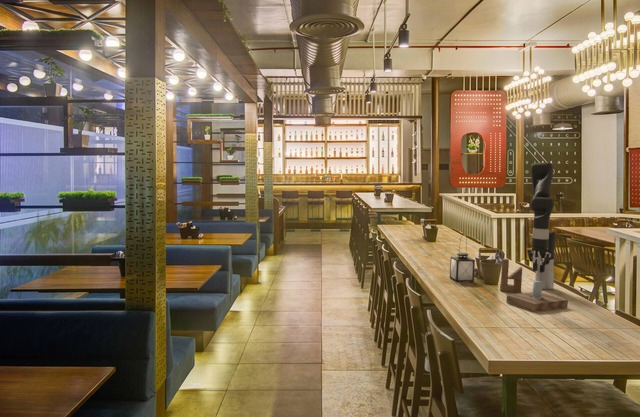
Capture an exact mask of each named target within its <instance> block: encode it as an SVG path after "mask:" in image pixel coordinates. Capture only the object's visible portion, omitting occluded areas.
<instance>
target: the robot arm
mask: <svg viewBox="0 0 640 417" xmlns="http://www.w3.org/2000/svg"><path fill="white" fill-rule="evenodd" d="M553 166H554V165H553V164H552V163H551V162H534V163H531V166H530V178H531V184H532V185H531V186H532V199H531V200H530V205H529V206H530V209H531V210H532V211H533V216H534V217H533V222H532V224H533V226H532V235H531V246H532V248H531V249H527V255H528V260H529V262H531V263H532V271H533V272H535V279H534V281H541V282H542V290H552V289H554V288H555V286H554V285H555V272H554V266H555V265H554V261H555V250H556V242H557V235H556V232H555V231H554V230H549V227H550V219H551V215H552V212H553V209H554V207H555V200H553V198H552V197H550V196H551V186H552V182H553V178H554V167H553Z"/></svg>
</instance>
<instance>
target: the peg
mask: <svg viewBox="0 0 640 417" xmlns="http://www.w3.org/2000/svg"><path fill="white" fill-rule="evenodd" d="M542 290H543V289H542V282H541V281H535V280H533V283H532V292H533V296H532V298H535V299H541V293H542Z"/></svg>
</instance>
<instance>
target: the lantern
mask: <svg viewBox="0 0 640 417" xmlns="http://www.w3.org/2000/svg"><path fill="white" fill-rule="evenodd" d="M464 235H465V238H466V240H465V241H466V244H465V245H466V246H465V248H466V249H465V251H467V248H468V247H467V245H468V244H467V243H468V242H467V241H468V239H467V238H468V237H467V235H466V234H462V235H461V237H460V239H459V242H461V240H462V237H463V236H464ZM460 250H461V245H459V248H458V251H459V252H457V253H456V255H457V256H450V263H449V264H450V266H449V278H450V279H451V280H453V281H454V282H456V283H459V282H461V283H462V282H464V283H465V282H466V281H474V282H475V268H476V267H475V264H476V262H475V261H476V259H473V258H472V257H469V253H467V252H460Z"/></svg>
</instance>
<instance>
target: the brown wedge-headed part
mask: <svg viewBox="0 0 640 417" xmlns="http://www.w3.org/2000/svg"><path fill="white" fill-rule="evenodd" d="M509 263H510V260H509V259H508V258H502V259H501V272H500V273H501V276H500V283H499V291H500V292H505V293H506V292H507V293H509V292H510V293H521V292H522V282H523V281H522V279H523V267H522V266H519V267H518V268H517V269H515V270H514V271H513V272H512V273H511V274H510V275H509ZM509 280H513V284H510V283H509V284H508V281H509Z"/></svg>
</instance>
